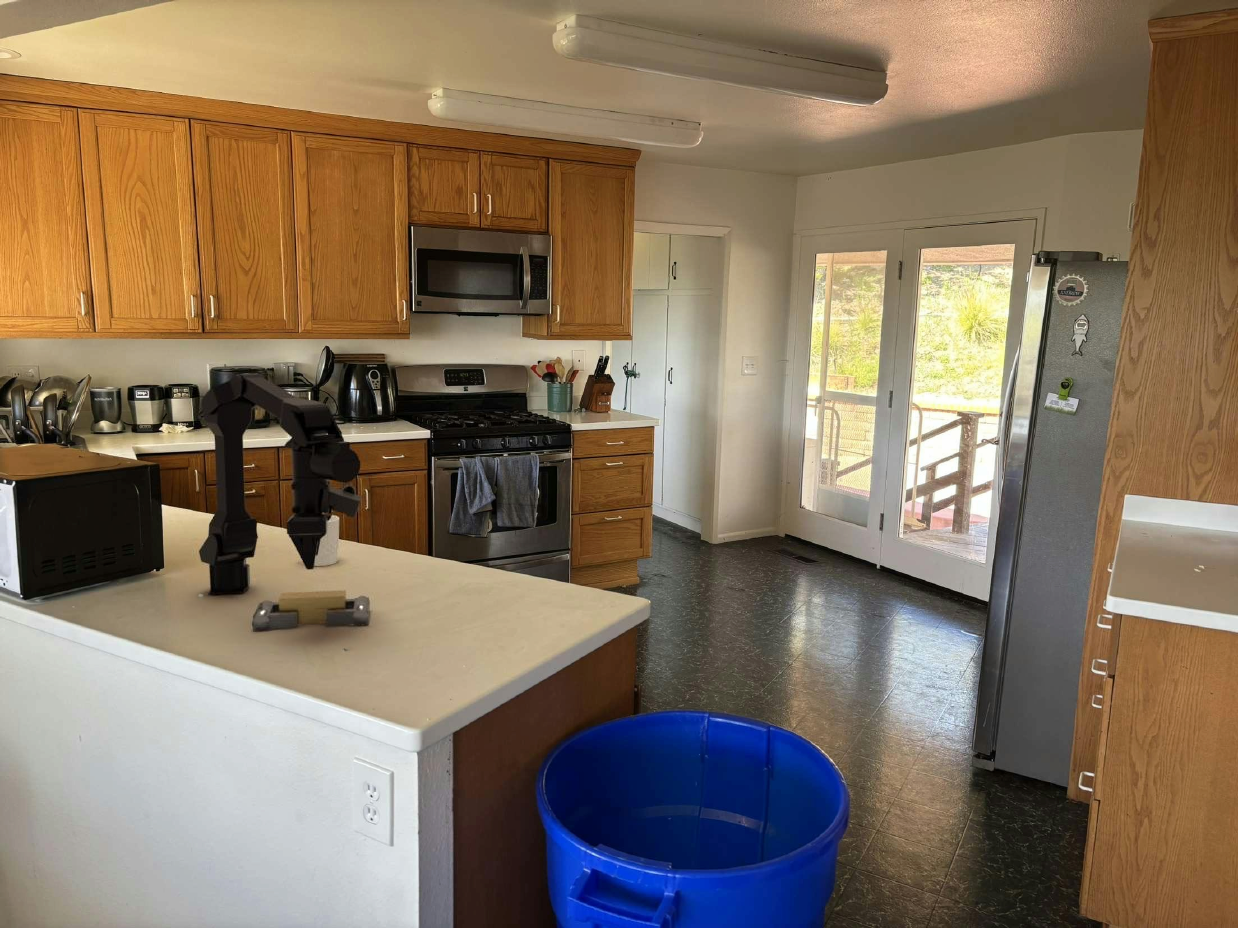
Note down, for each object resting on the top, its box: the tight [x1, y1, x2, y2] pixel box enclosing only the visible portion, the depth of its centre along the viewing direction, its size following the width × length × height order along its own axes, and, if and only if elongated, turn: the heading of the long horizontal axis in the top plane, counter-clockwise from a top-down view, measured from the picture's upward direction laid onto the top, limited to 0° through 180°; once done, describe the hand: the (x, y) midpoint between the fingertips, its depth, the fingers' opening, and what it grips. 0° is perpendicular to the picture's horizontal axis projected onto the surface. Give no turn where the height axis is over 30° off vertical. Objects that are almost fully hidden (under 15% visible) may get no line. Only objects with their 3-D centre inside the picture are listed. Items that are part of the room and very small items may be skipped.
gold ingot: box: [278, 589, 347, 625], centre depth 155 cm, size 11×3×5 cm, turn 104°
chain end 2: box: [326, 595, 371, 627], centre depth 157 cm, size 7×8×3 cm
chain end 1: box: [251, 599, 298, 632], centre depth 154 cm, size 7×8×3 cm
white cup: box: [314, 514, 340, 567], centre depth 191 cm, size 8×8×10 cm
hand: (312, 562), depth 154 cm, fingers open, 9 cm apart
